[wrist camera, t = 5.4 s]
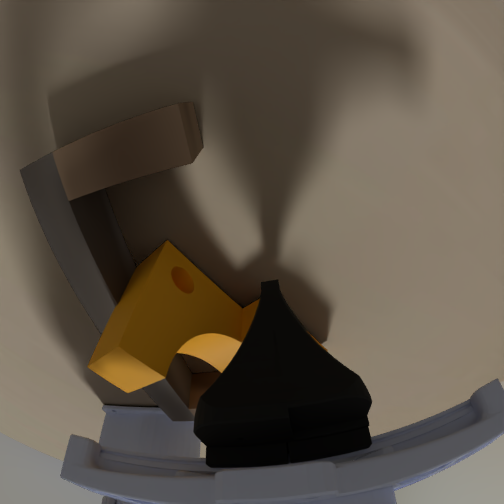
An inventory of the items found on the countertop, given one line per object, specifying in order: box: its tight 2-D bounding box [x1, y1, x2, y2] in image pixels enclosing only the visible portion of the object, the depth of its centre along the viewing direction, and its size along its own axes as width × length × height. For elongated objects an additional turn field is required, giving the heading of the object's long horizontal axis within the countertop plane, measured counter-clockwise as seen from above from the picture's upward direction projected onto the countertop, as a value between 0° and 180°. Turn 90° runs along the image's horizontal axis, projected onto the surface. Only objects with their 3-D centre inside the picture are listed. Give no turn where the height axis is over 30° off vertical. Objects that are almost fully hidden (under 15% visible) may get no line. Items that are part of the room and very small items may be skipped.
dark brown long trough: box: [20, 102, 221, 421], centre depth 14 cm, size 7×18×3 cm, turn 10°
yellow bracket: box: [87, 240, 328, 393], centre depth 13 cm, size 12×4×6 cm, turn 39°
